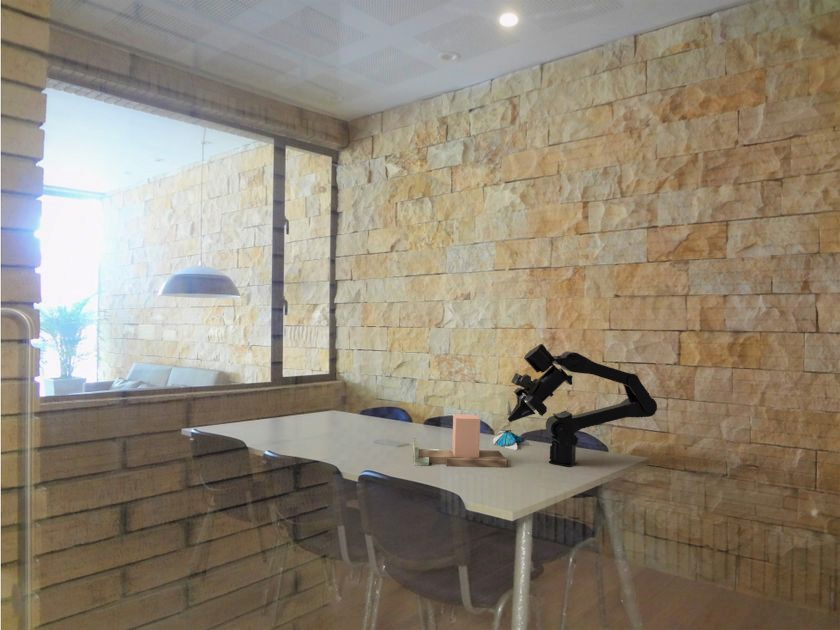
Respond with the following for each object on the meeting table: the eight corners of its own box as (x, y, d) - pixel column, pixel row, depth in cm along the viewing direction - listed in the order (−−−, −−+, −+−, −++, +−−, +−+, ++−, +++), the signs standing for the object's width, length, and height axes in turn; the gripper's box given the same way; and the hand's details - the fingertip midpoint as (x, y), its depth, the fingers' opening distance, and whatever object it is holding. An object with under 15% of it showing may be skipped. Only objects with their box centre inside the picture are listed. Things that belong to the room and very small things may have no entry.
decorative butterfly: (501, 429, 199) (527, 426, 193) (505, 448, 198) (531, 445, 192) (486, 433, 191) (512, 430, 185) (490, 453, 190) (516, 450, 184)
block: (475, 451, 172) (476, 414, 172) (479, 457, 165) (480, 419, 165) (452, 451, 171) (453, 414, 171) (454, 456, 164) (455, 418, 164)
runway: (498, 456, 175) (499, 440, 175) (506, 467, 163) (507, 449, 163) (412, 454, 173) (413, 438, 173) (414, 465, 161) (415, 447, 161)
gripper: (521, 361, 178) (484, 396, 178) (536, 366, 160) (495, 405, 159) (545, 387, 179) (509, 422, 178) (563, 396, 160) (523, 434, 159)
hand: (508, 420), depth 169 cm, fingers closed
